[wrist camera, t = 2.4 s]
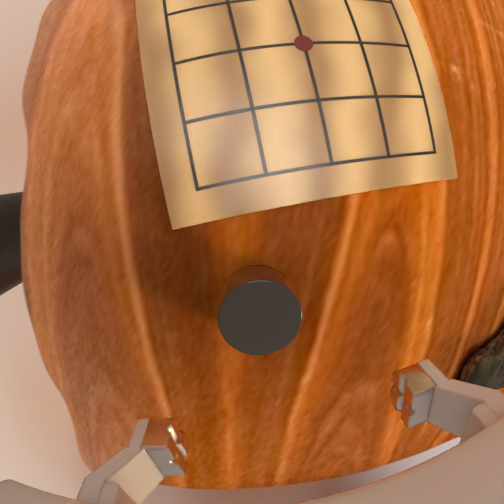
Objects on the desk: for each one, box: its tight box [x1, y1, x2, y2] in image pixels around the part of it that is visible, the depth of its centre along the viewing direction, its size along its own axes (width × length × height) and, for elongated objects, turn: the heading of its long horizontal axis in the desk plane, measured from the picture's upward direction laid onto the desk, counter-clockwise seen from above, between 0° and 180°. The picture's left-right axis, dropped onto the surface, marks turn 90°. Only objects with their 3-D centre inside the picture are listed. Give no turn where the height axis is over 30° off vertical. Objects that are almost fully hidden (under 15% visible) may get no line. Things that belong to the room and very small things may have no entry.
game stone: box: [218, 265, 303, 355], centre depth 19 cm, size 5×5×3 cm
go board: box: [135, 0, 457, 230], centre depth 16 cm, size 20×20×2 cm
